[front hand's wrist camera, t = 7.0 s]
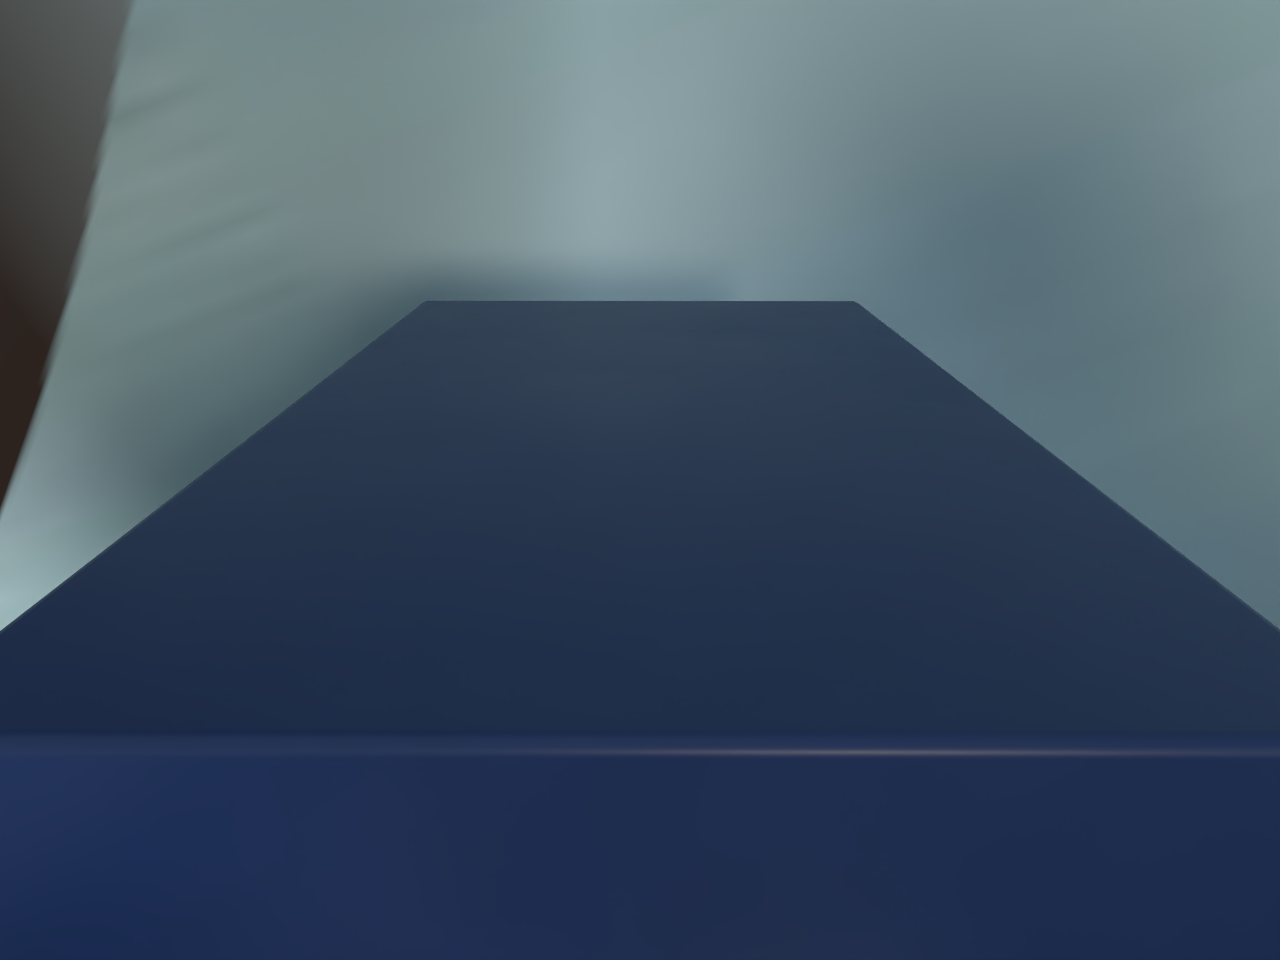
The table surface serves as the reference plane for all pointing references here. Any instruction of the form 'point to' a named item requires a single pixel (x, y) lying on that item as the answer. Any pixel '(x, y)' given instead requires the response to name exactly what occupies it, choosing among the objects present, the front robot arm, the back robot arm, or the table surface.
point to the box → (640, 674)
